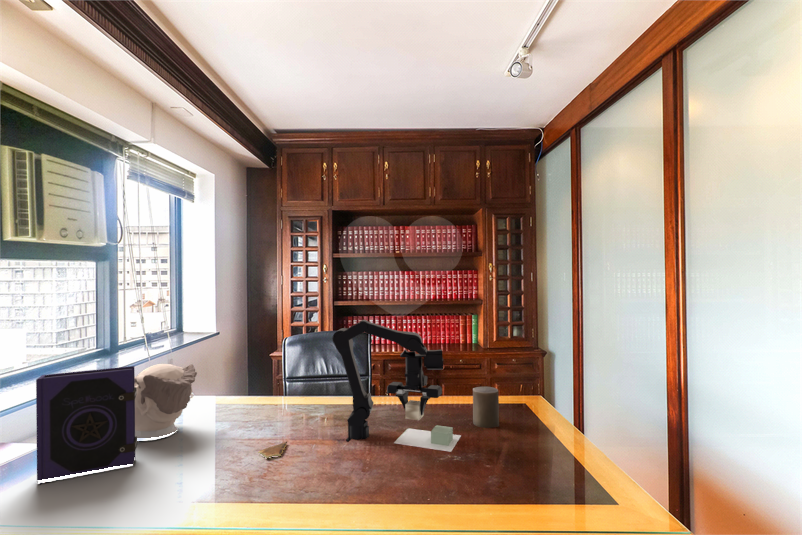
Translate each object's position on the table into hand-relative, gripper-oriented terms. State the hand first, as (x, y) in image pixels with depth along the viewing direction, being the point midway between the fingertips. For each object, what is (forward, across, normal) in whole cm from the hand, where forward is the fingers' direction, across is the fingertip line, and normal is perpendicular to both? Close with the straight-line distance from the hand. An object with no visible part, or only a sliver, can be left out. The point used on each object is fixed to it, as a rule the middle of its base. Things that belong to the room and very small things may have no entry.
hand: (414, 414), depth 147 cm
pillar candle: (+9, -21, -22) cm, 32 cm away
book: (+9, +84, +55) cm, 101 cm away
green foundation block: (+8, -10, 0) cm, 13 cm away
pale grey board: (+9, -5, 0) cm, 10 cm away
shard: (+10, +41, +25) cm, 49 cm away
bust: (+9, +89, +27) cm, 94 cm away
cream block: (+1, 0, 0) cm, 1 cm away
